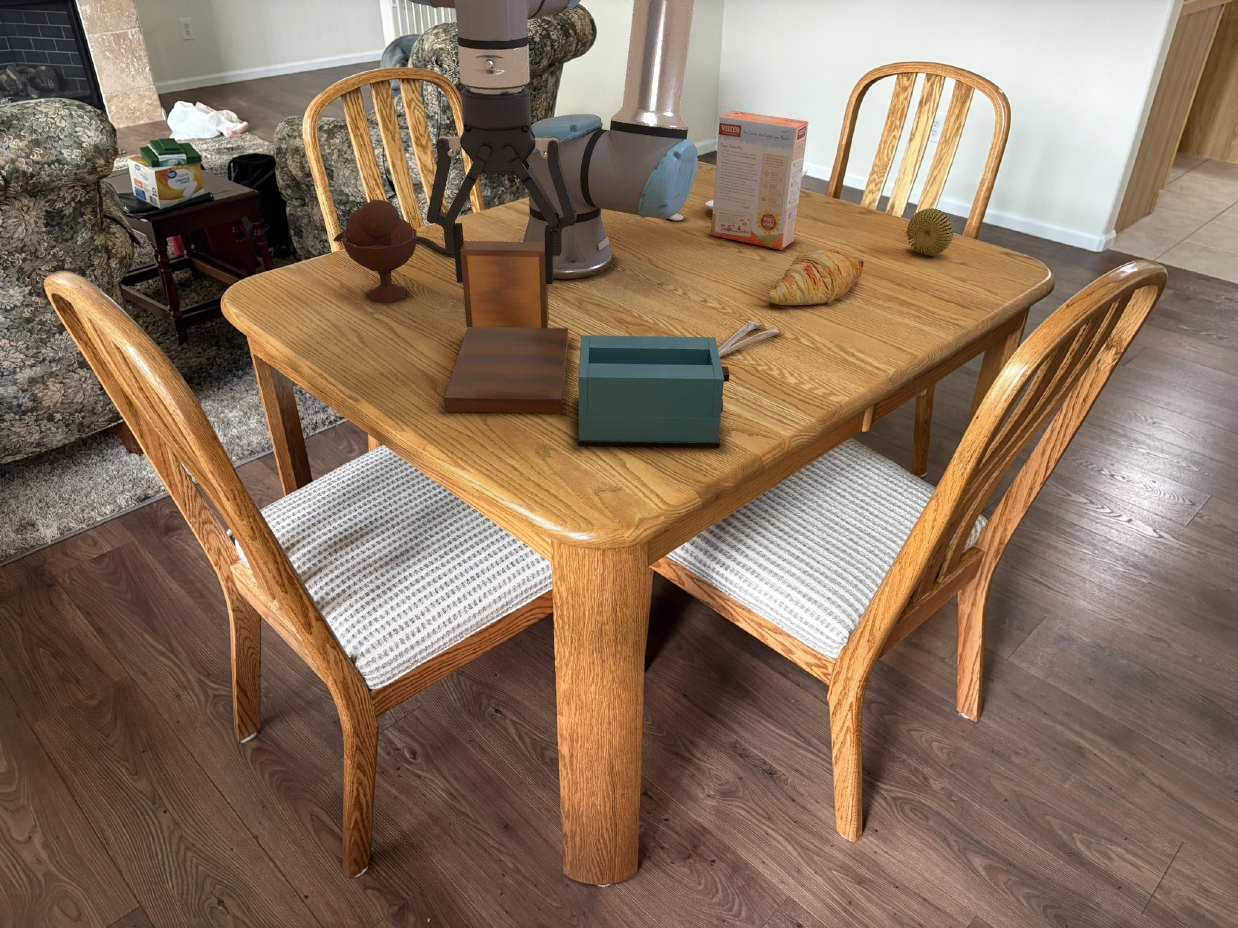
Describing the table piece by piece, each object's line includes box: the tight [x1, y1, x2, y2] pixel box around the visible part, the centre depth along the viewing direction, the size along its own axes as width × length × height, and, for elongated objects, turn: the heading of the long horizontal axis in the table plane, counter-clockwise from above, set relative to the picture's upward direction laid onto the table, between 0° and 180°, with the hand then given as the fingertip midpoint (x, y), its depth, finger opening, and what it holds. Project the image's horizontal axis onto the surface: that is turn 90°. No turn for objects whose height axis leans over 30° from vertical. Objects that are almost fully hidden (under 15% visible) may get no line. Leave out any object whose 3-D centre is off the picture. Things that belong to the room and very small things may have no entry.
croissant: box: [767, 249, 865, 306], centre depth 141 cm, size 21×10×8 cm, turn 130°
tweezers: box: [718, 320, 780, 358], centre depth 124 cm, size 17×5×2 cm, turn 137°
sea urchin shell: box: [906, 207, 955, 257], centre depth 155 cm, size 8×4×8 cm, turn 48°
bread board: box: [444, 327, 569, 414], centre depth 119 cm, size 24×14×2 cm, turn 0°
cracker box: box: [710, 110, 809, 251], centre depth 156 cm, size 14×6×21 cm, turn 58°
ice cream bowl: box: [341, 199, 418, 303], centre depth 135 cm, size 11×11×15 cm
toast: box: [460, 240, 550, 328], centre depth 111 cm, size 10×3×10 cm, turn 90°
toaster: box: [576, 334, 731, 449], centre depth 106 cm, size 17×11×9 cm, turn 90°
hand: (505, 279), depth 111 cm, fingers closed on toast, 10 cm apart
